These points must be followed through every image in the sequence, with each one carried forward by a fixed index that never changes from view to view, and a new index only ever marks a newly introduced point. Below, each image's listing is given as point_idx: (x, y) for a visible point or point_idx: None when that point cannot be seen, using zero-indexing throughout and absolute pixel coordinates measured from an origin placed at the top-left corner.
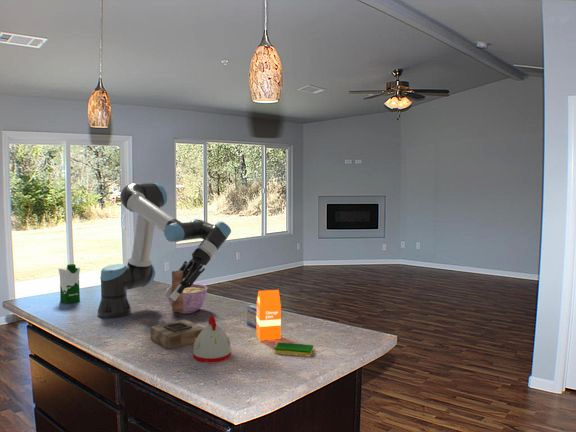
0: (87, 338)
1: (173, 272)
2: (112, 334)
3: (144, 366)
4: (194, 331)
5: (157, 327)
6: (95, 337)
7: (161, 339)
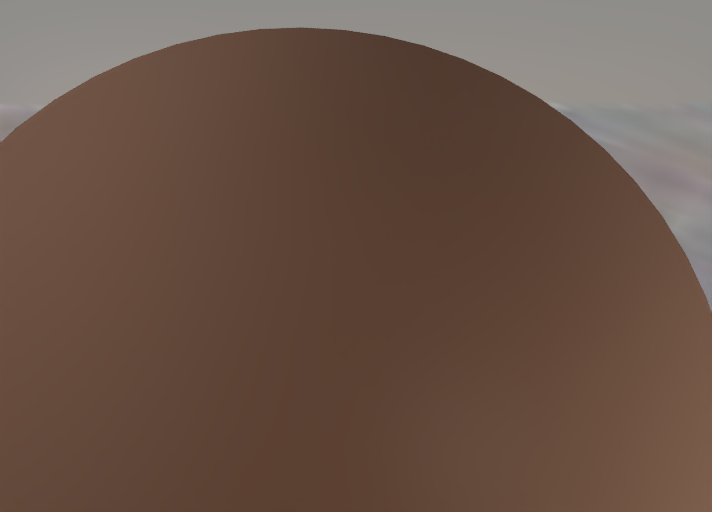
0: (689, 133)
1: (262, 33)
2: (700, 259)
3: (6, 134)
4: None
5: None
6: (687, 168)
7: None
